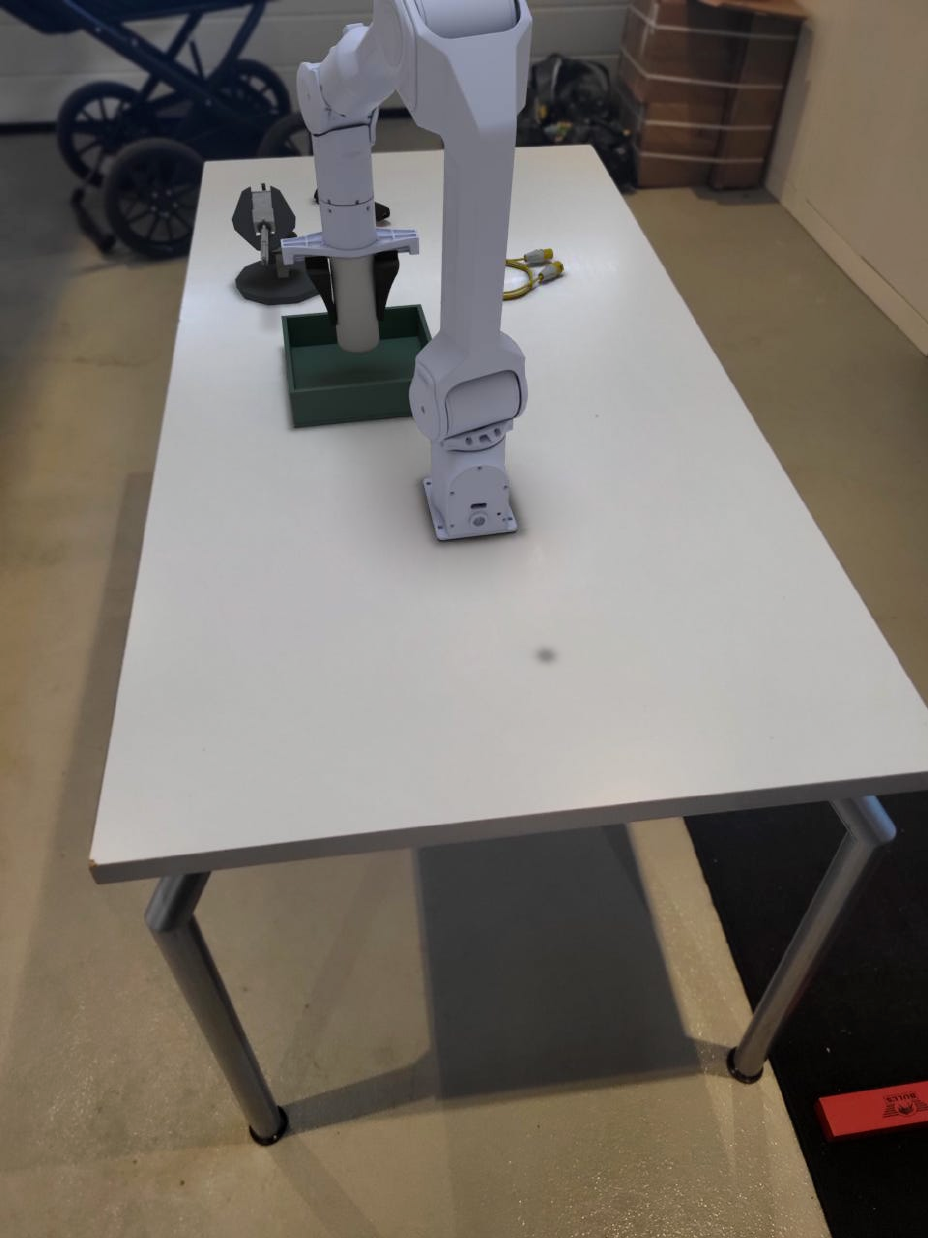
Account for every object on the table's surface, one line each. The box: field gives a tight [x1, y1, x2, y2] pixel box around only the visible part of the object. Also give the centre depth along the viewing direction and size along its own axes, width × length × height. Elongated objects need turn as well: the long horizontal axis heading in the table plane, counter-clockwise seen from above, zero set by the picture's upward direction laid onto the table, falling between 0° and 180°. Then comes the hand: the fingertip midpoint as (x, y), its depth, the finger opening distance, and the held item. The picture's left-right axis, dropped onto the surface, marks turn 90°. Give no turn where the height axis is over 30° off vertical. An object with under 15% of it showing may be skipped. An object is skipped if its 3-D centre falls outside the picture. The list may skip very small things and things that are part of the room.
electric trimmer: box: [313, 188, 391, 222], centre depth 138 cm, size 4×16×3 cm, turn 47°
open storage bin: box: [280, 303, 433, 428], centre depth 104 cm, size 17×17×4 cm
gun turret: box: [230, 182, 320, 306], centre depth 116 cm, size 13×20×13 cm, turn 9°
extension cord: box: [503, 247, 565, 300], centre depth 123 cm, size 12×16×2 cm
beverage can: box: [328, 254, 379, 355], centre depth 98 cm, size 5×5×12 cm
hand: (357, 318), depth 100 cm, fingers closed on beverage can, 5 cm apart
